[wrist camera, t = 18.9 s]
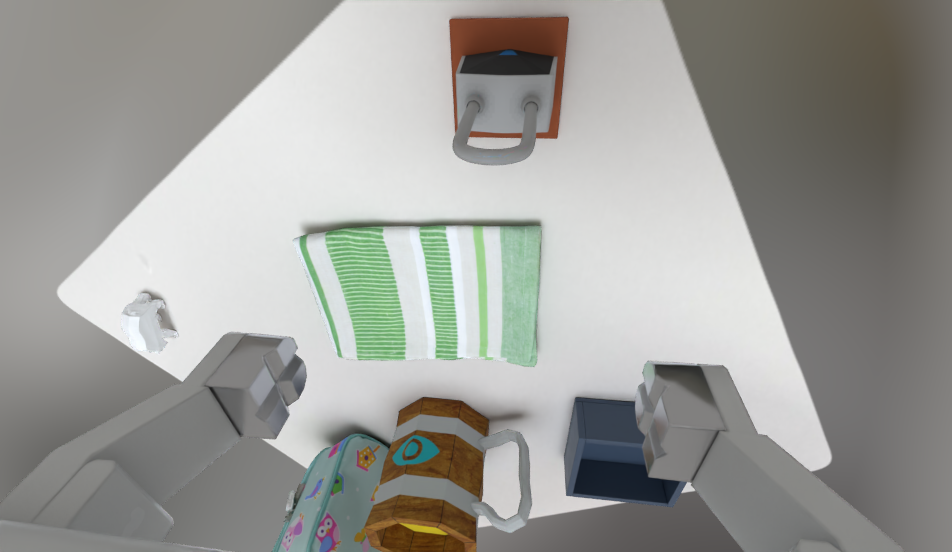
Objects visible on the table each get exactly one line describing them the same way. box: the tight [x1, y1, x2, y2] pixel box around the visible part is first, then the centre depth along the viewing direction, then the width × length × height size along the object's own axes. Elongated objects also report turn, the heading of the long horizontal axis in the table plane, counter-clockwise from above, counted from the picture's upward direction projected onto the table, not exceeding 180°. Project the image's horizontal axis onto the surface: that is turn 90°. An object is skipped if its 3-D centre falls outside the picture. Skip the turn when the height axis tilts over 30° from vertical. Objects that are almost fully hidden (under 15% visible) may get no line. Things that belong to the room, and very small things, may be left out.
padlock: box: [453, 49, 558, 165], centre depth 24 cm, size 7×4×15 cm, turn 91°
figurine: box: [121, 293, 178, 354], centre depth 50 cm, size 2×8×5 cm, turn 171°
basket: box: [564, 398, 687, 507], centre depth 53 cm, size 14×14×6 cm
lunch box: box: [272, 434, 389, 552], centre depth 59 cm, size 27×10×21 cm, turn 39°
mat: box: [449, 17, 569, 139], centre depth 31 cm, size 8×8×1 cm
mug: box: [364, 397, 532, 552], centre depth 52 cm, size 20×14×15 cm
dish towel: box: [293, 226, 541, 367], centre depth 43 cm, size 18×23×3 cm
